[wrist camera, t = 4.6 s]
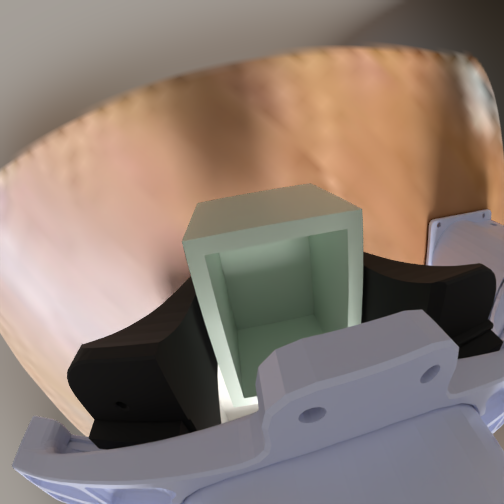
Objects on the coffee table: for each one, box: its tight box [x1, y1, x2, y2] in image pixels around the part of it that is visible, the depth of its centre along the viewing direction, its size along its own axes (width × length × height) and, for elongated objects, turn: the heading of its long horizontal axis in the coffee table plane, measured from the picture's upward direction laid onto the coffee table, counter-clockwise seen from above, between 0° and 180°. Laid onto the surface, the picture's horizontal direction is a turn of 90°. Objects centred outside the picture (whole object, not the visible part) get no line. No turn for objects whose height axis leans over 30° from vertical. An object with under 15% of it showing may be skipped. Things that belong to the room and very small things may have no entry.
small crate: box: [182, 183, 363, 407], centre depth 11 cm, size 5×7×5 cm
